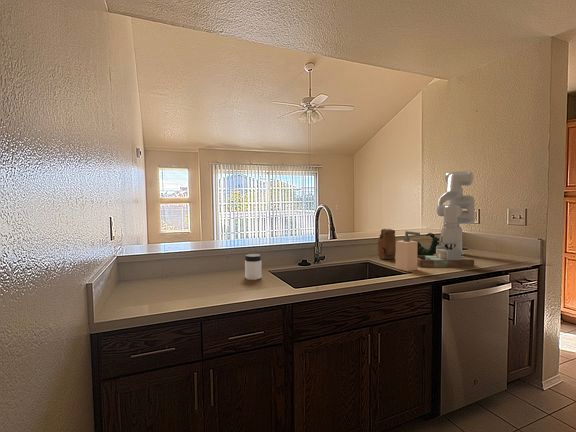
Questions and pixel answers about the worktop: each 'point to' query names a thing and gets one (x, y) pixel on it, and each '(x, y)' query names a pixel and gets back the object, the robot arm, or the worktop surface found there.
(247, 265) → the jar
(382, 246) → the block
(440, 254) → the birch cube
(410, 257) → the soap dispenser
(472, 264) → the walnut deck
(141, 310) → the worktop surface
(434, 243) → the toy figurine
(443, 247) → the tunnel walls
